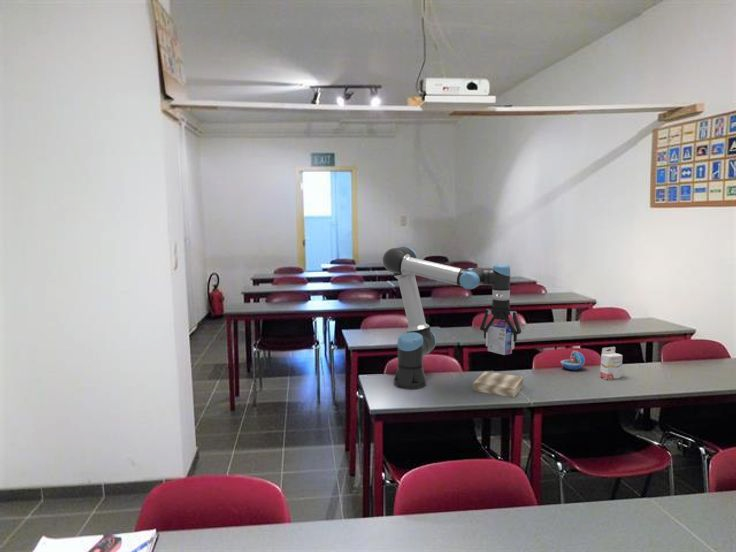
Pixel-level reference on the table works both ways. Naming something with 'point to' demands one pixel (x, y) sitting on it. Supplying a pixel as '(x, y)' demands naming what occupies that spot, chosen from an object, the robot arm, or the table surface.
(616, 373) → the ink cartridge box
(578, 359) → the cell model
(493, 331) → the ink cartridge box
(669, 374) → the table surface
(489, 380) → the birch base
